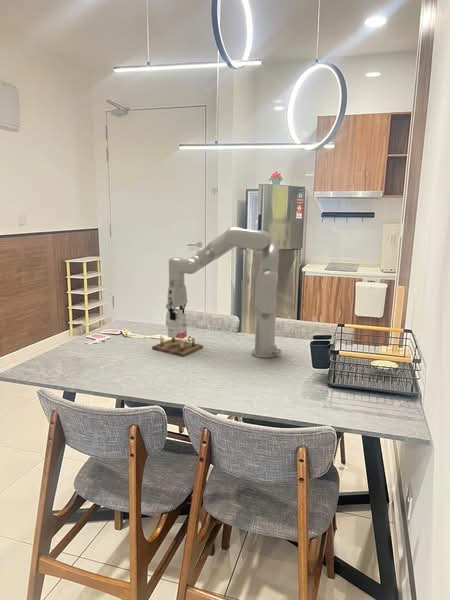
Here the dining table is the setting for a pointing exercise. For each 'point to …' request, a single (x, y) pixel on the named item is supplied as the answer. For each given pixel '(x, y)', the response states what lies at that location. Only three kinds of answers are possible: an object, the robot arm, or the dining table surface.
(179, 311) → the ink cartridge box
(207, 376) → the dining table surface
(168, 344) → the walnut plate
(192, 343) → the brass pins
